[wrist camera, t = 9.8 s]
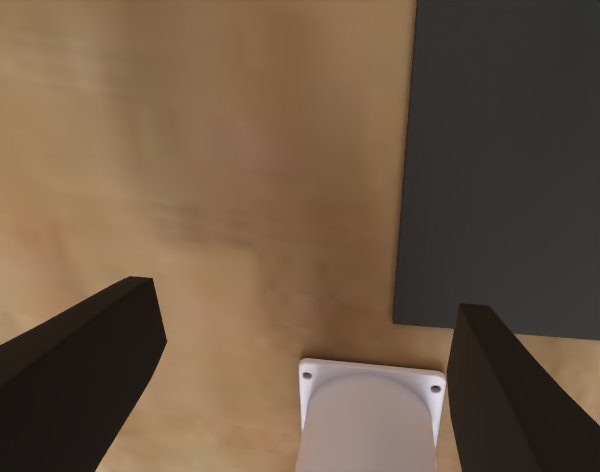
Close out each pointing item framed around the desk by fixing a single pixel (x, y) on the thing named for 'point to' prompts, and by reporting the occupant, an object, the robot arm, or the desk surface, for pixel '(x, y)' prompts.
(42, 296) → the desk surface
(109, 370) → the robot arm
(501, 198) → the mat
